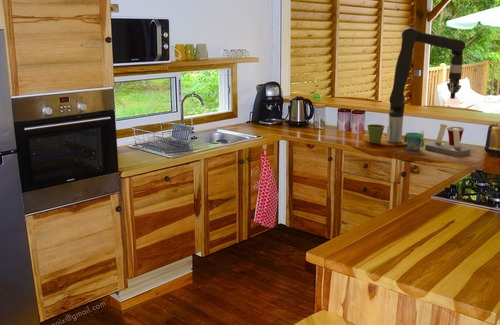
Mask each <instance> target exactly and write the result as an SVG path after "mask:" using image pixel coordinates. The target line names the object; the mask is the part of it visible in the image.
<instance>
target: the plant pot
mask: <svg viewBox="0 0 500 325" xmlns="http://www.w3.org/2000/svg"><path fill="white" fill-rule="evenodd" d="M366 127H367V130H368V140H369V141H368V142H369V143H371V144H380V143H381V141H382V137H383V133H384V129H385V128H386V126H385V125H384V124H375V123H374V124H372V123H371V124H367V125H366ZM379 142H380V143H379Z"/></svg>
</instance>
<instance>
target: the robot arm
mask: <svg viewBox="0 0 500 325" xmlns="http://www.w3.org/2000/svg"><path fill="white" fill-rule="evenodd" d="M416 42H417V43H421V44H422V43H423V44H426V45H429V46H432V47H437V48H442V49H448V50H450V51H451V58H450V59H451V60H450V66H449V72H448V73H449V74H448V79H449V82H448V83H447V84H446V86H447V90H448V91H449V92H450V98H449V99H451V100H452V99H453V100H454V99H455V97H456V93H458V92H459V91H460V89H461V88H462V85H460V80H462V74H463V62H464V57H463V53H464V52H463V51H464V50H465V48H466V43H465V42H464V41H463V40H462V39H461V40H460V39H455V38H450V37H448V36H444V35H438V34H432V33H428V32H427V33H426V32H422V31H421V30H420V31H419V30H417V29H415V28H414V27H406V28H404V29H403V30H402V32H401V47H400V52H399V55H398V56H397V61H396V65H395V69H394V78H393V85H392V88H391V89H392V90H391V93H390V97H389V103H390V105H389V106H390V107H389V112H388V126H387V129H386V141H387V142H388V141H389V142H388V143H395V142H397V143H401V142H403V141H402V140H403V139H402V138H403V124H404V113H405V105H406V103H405V102H406V97H405V94H404V92H405V87H406V84H407V81H408V78H409V75H410V73H411V72H410V71H411V69H412V68H411V66H412V59H413V50H414V46H415V43H416Z"/></svg>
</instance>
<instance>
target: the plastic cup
mask: <svg viewBox="0 0 500 325" xmlns="http://www.w3.org/2000/svg"><path fill="white" fill-rule="evenodd" d="M454 128H458V129H460V131H459V137H460V142H461V140H462V136H463V133H464V131H465V127H463V126H449V127H447V128H446V130H447V134H448V142H449V144H448V145H452V146H454V134H453V131H452V129H454Z"/></svg>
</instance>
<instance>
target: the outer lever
mask: <svg viewBox="0 0 500 325" xmlns="http://www.w3.org/2000/svg"><path fill="white" fill-rule="evenodd" d="M452 131H453V134H454V148H456V149H461V148H462V146H461V141H460V137H459V131H460V129H458V128H454V129H452Z"/></svg>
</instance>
